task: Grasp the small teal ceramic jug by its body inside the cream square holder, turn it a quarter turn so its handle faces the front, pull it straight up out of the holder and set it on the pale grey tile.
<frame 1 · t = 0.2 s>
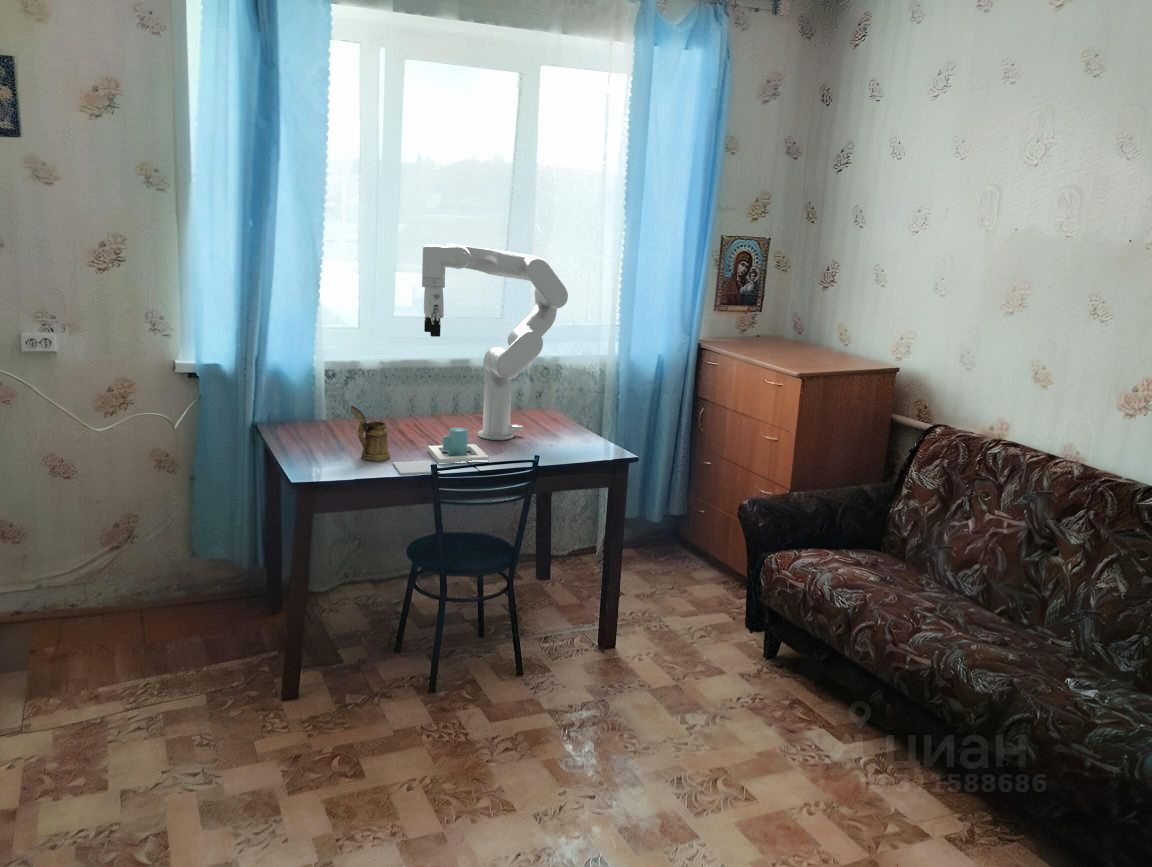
hand: (432, 334, 330), 36 cm above the table, tool pointing down, fingers open, 9 cm apart
holder: (457, 456, 319), on the table
jug: (455, 443, 318), in the holder
tile: (416, 468, 303), on the table
wooden mug: (369, 459, 311), on the table
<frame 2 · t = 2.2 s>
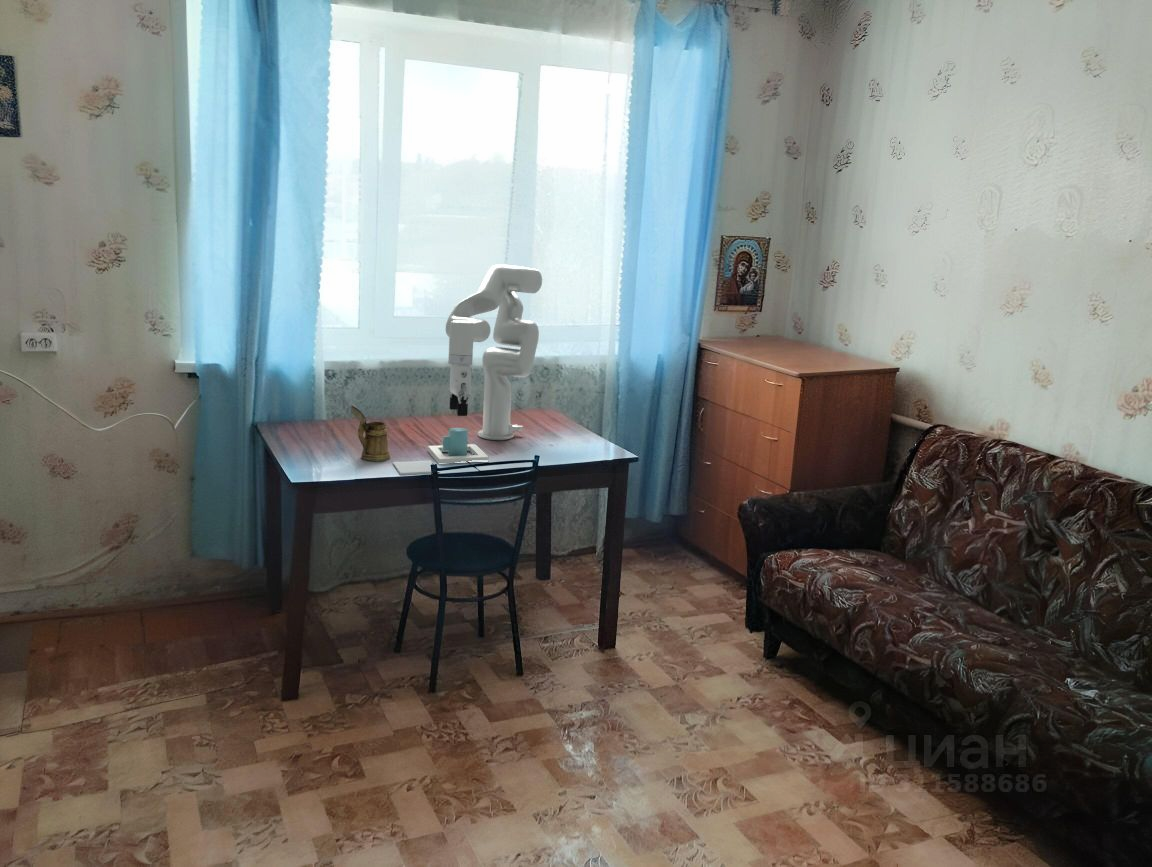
hand: (458, 412, 315), 15 cm above the table, tool pointing down, fingers open, 9 cm apart
nothing on the table moved.
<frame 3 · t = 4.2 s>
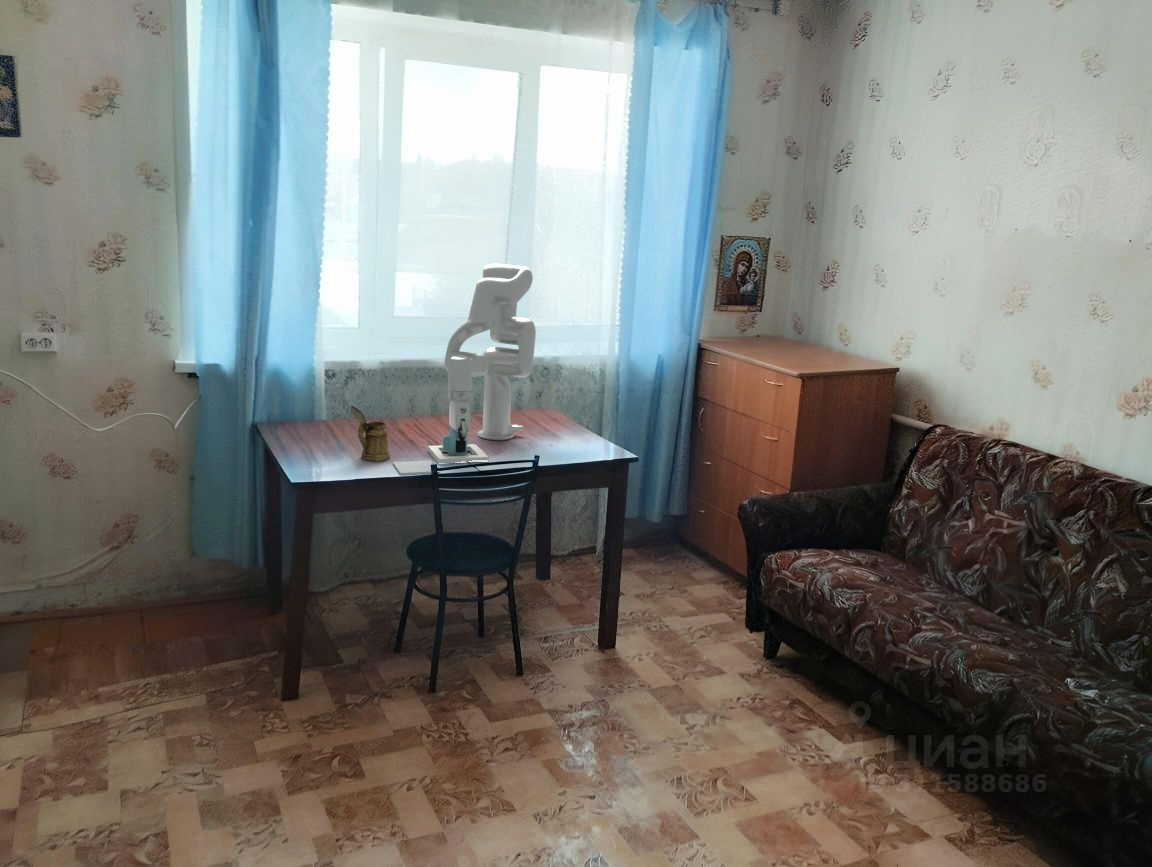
hand: (457, 449, 318), 3 cm above the table, tool pointing down, fingers closed on jug, 6 cm apart
jug: (455, 443, 318), in the holder, touching gripper
everything else where it was.
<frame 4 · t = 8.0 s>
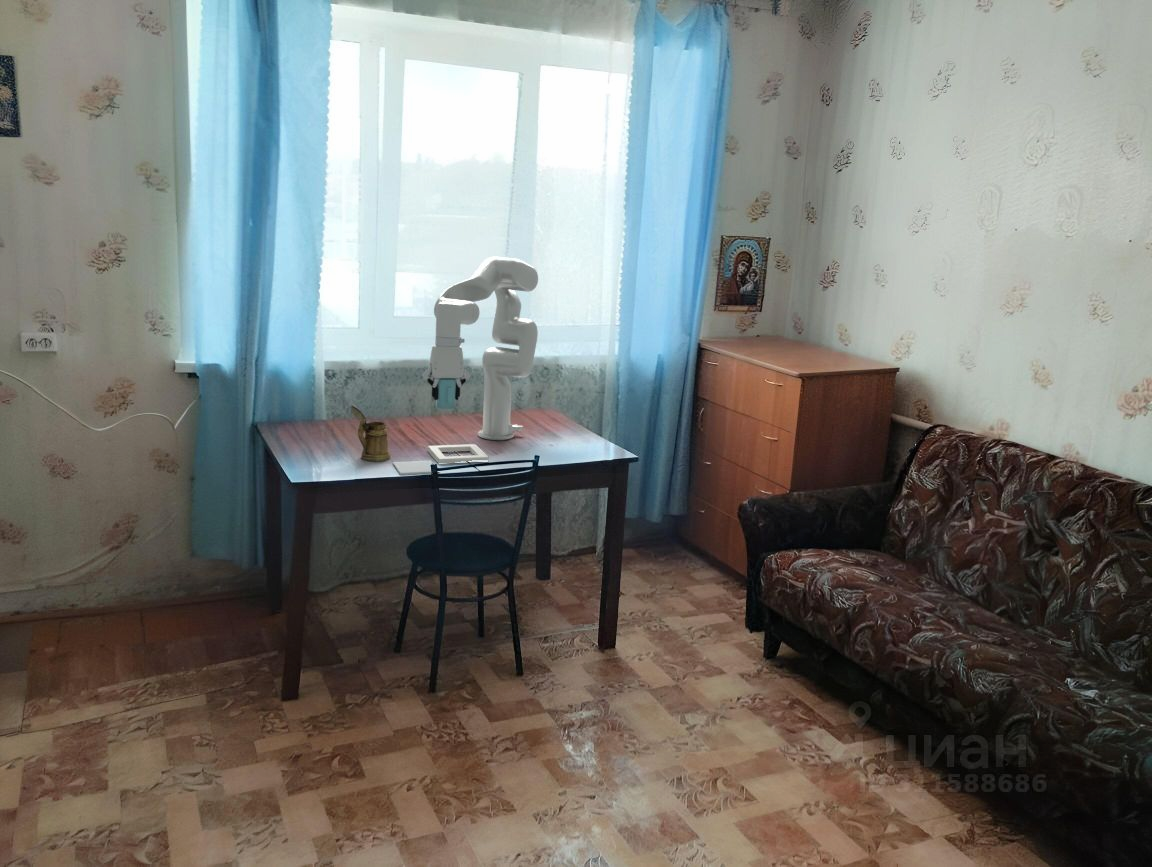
hand: (445, 398, 309), 20 cm above the table, tool pointing down, fingers closed on jug, 6 cm apart
jug: (446, 393, 307), point 22 cm above the table, touching gripper
everything else where it was.
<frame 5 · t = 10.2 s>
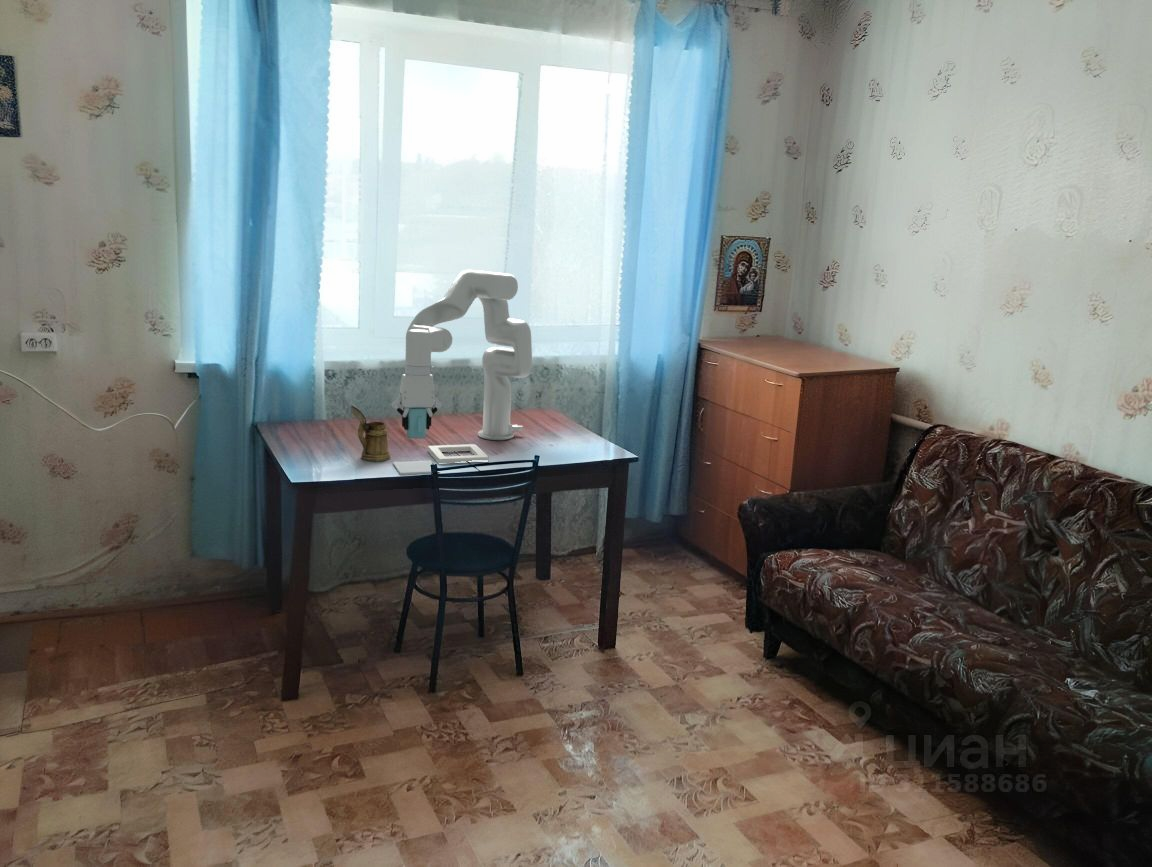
hand: (416, 428, 300), 13 cm above the table, tool pointing down, fingers closed on jug, 6 cm apart
jug: (417, 422, 299), point 15 cm above the table, touching gripper
everything else where it was.
when the fingers open (5 cm above the table, at t = 12.1 s): jug drops 1 cm, resting on tile.
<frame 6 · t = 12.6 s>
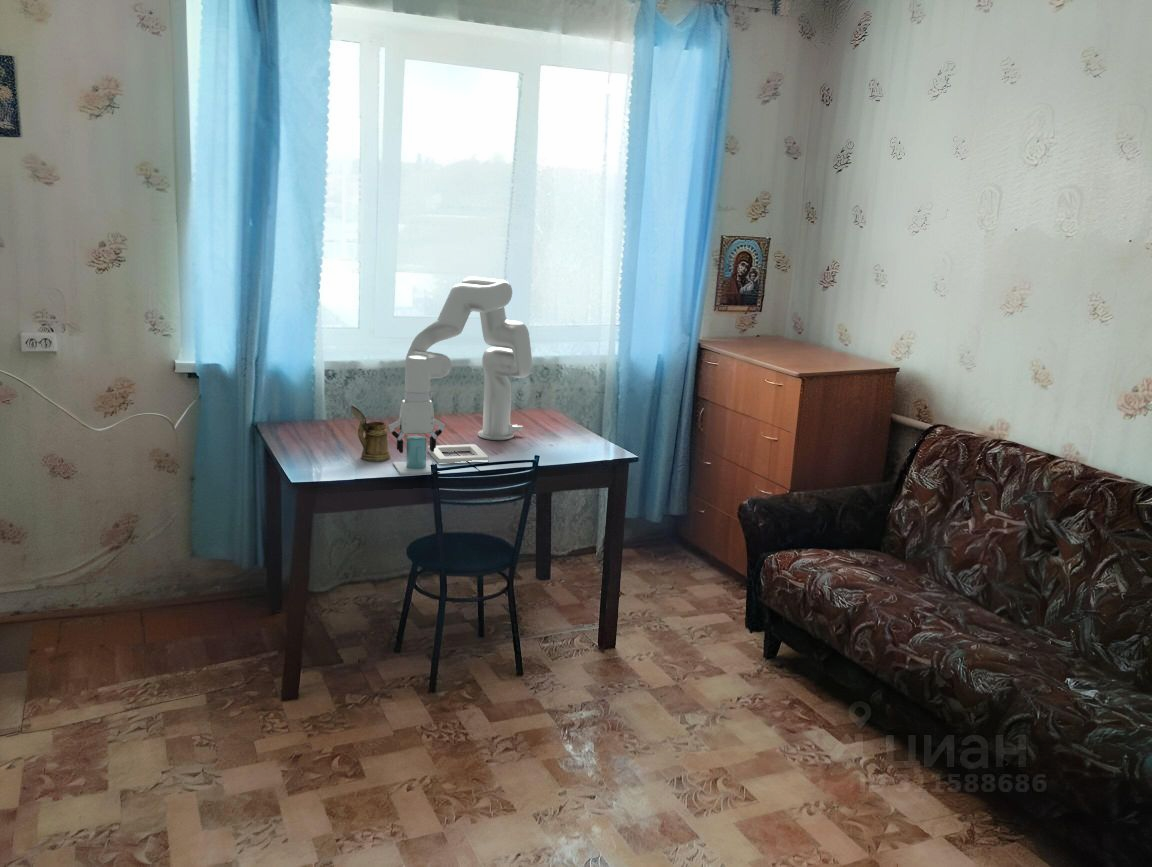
hand: (416, 451, 302), 6 cm above the table, tool pointing down, fingers open, 9 cm apart
jug: (417, 453, 301), on the tile, point 5 cm above the table
everything else where it was.
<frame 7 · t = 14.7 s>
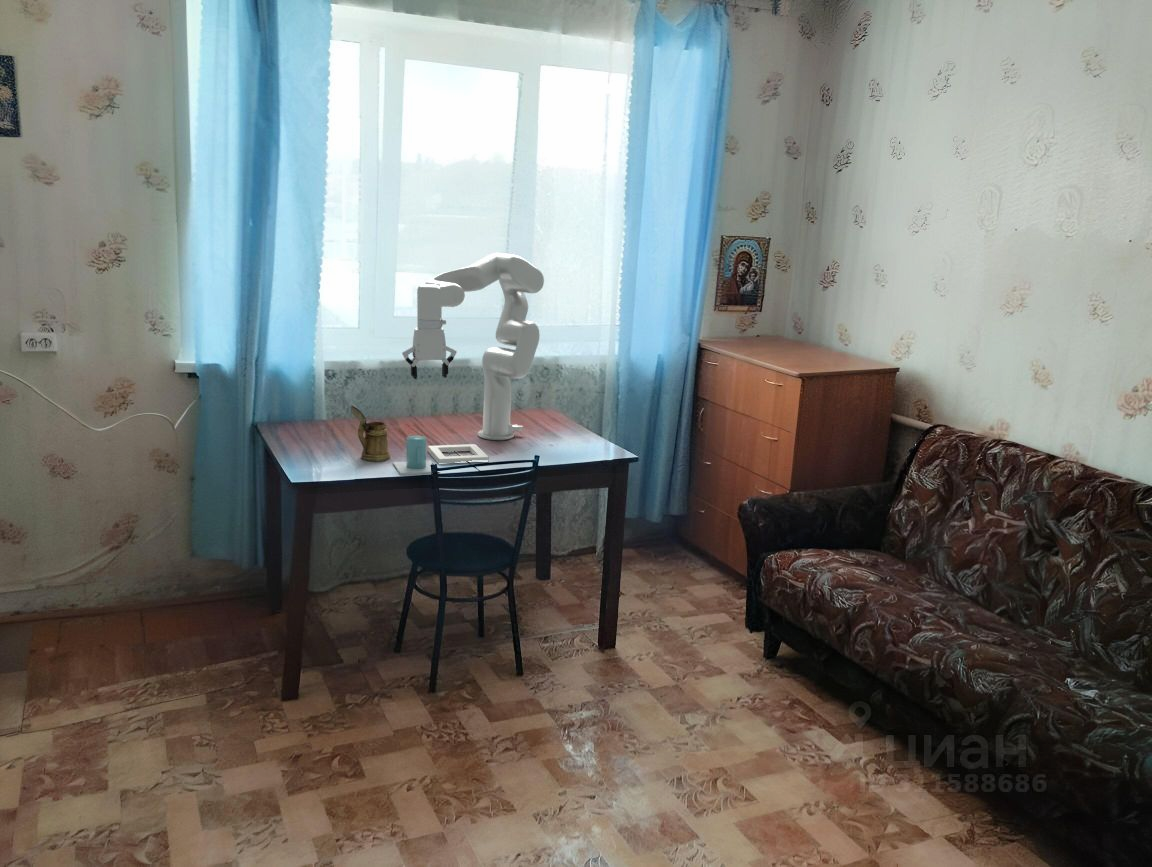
hand: (429, 377, 314), 25 cm above the table, tool pointing down, fingers open, 9 cm apart
nothing on the table moved.
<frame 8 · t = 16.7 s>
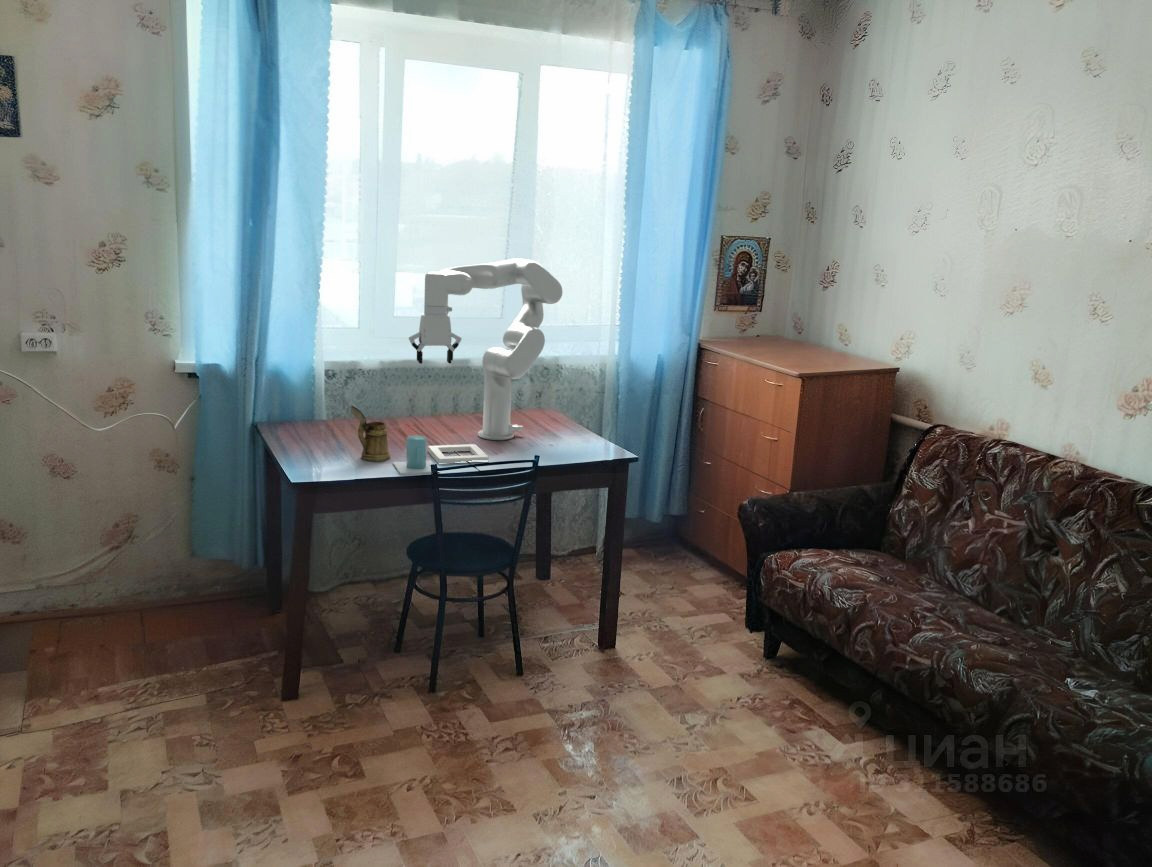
hand: (434, 362, 323), 28 cm above the table, tool pointing down, fingers open, 9 cm apart
nothing on the table moved.
at the end: jug inside the target area on the tile (0.1 cm from its centre), point 5.2 cm above the tile's base; jug tilted 2°; the gripper is holding nothing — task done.
